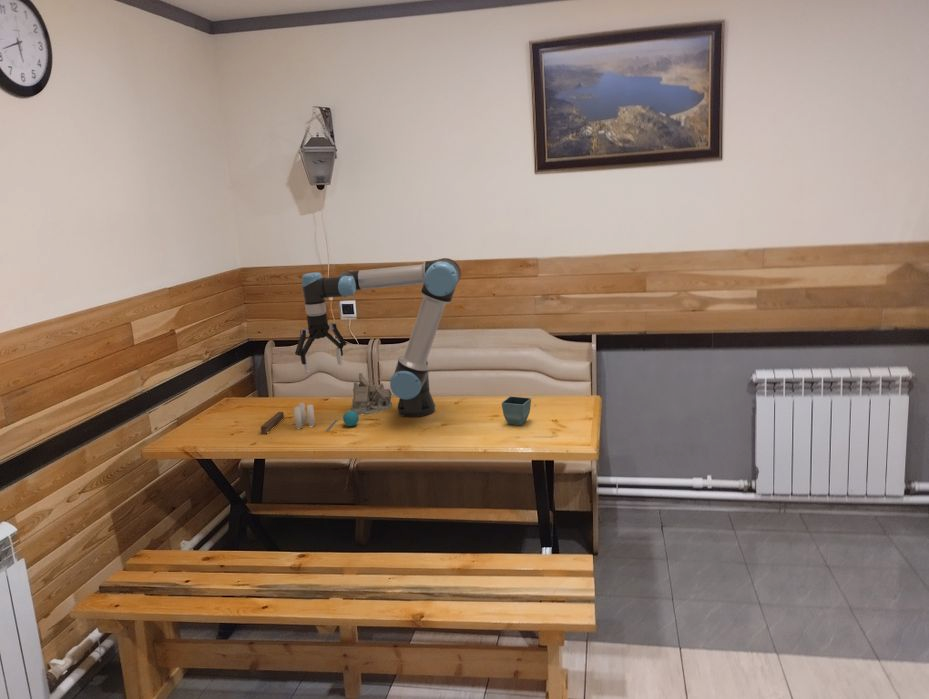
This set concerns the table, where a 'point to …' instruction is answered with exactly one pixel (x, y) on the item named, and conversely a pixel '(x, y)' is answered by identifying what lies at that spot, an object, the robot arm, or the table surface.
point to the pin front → (310, 415)
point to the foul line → (331, 425)
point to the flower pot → (516, 409)
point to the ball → (350, 418)
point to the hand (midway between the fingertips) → (323, 368)
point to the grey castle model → (370, 397)
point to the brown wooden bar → (272, 422)
